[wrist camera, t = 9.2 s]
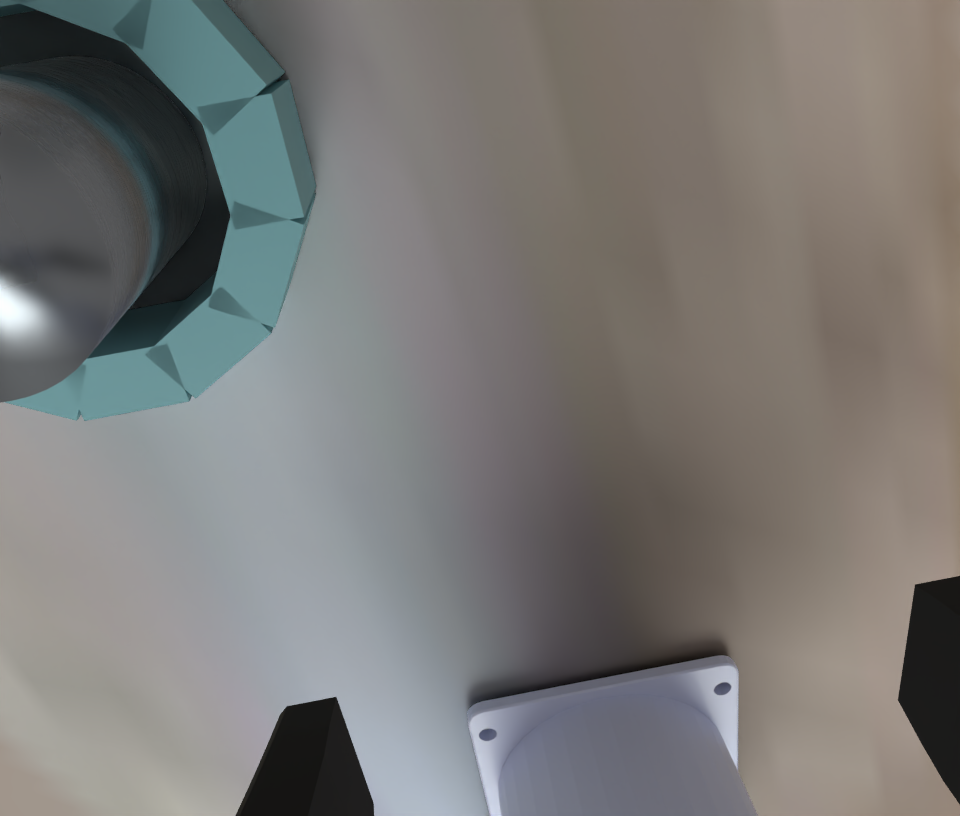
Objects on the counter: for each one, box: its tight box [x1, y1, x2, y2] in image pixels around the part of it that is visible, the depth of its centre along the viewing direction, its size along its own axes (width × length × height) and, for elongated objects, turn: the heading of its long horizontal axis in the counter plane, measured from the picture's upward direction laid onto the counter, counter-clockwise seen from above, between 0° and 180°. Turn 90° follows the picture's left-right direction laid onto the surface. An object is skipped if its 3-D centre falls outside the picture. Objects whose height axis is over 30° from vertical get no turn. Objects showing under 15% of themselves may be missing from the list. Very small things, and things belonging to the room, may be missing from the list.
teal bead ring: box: [0, 0, 316, 421], centre depth 14 cm, size 8×8×2 cm
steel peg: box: [0, 56, 207, 402], centre depth 12 cm, size 4×4×6 cm
